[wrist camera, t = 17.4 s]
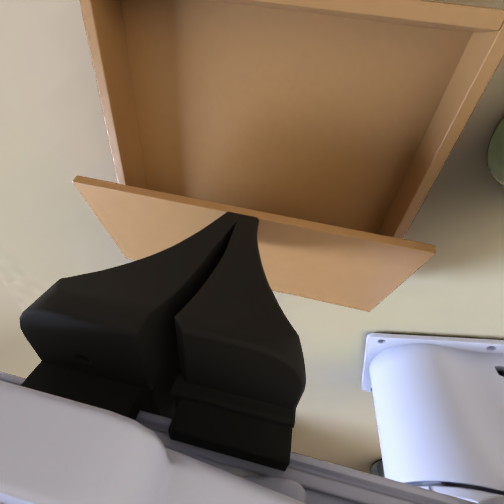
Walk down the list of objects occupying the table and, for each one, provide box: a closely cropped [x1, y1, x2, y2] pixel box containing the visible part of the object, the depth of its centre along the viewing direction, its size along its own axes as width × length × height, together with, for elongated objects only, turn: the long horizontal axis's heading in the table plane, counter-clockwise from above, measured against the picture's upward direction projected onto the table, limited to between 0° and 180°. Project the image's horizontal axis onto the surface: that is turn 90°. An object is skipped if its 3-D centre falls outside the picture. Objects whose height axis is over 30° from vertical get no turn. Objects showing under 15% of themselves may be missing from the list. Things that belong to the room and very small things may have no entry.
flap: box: [72, 176, 436, 312], centre depth 14 cm, size 6×15×1 cm, turn 84°
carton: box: [79, 0, 504, 239], centre depth 14 cm, size 13×15×2 cm
